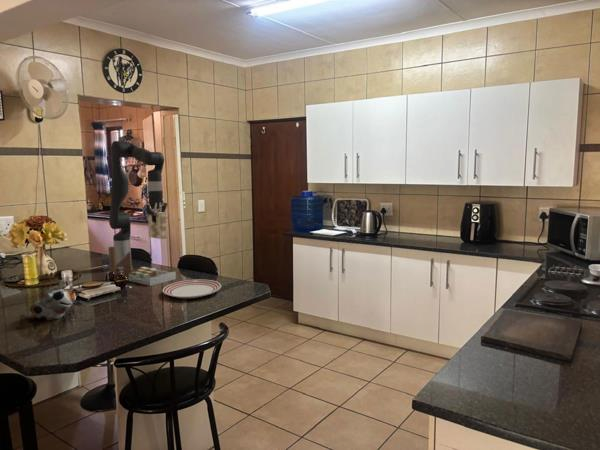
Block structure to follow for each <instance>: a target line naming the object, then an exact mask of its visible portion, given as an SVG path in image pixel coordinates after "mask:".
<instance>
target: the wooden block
mask: <svg viewBox="0 0 600 450" xmlns="http://www.w3.org/2000/svg"><path fill="white" fill-rule="evenodd" d="M108 259H109V260H108V261H109V273H110V272H114V273H122V274H124V275H125V276H126V277H127V280H129V276H128V273H132V267H131V265H132V255H131V256H130V252H128V253H127V254H126V255H125V256H124V258H123V259H122V260H121V261H120V262H119V263H118V264H117V260H116V247H114V246H109V247H108ZM122 266H123V269H122V271H118V269H117V267H122Z"/></svg>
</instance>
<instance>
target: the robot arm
mask: <svg viewBox="0 0 600 450" xmlns="http://www.w3.org/2000/svg"><path fill="white" fill-rule="evenodd" d="M110 156H111V181H110V182H111V186H110V190H111V192H110V194H111V197H110V198H111V199H110V208H109V217H108V223H109V227H110V228H111V229H112V230H119V229H120V230H119V231H118V233H116V234H114V235H113V237H112V238H113V239H112V240H113V247H116V260H117V264H118V263H119V262H120V261H121V260H122V259H123V258H124V256H125V255H126V254H127V253H128V252H130V256H131V257H132V253H131V252H132V250H131V249H132V248H131V231H132V229H131V227H132V226H131V216H130V214H129V213H128V212H120V208H121V205H122V203H123V202H124V200H125V199H126V197H127V195H128V194H129V186H130V185H129V178H128V176H127V174H126V173H125V171H124V169H123V168H122V165H121V158H122V159H123V158H126V159H127V158H133V159H135V160H136V161H138V162H141V163H143V164H144V165H145V166H154V168H152V169H150V170H148V171H147V199H148V202H147V203H146V204H144V205H143V206H144V208H145V211H146V212H147V215H148V214H149V215H151V216H152V221H153V222H154V223H155V222H156V216H155V215H156V212H165V213H166V209H167V207H168V203H167V202H164V200H163V198H164V193H163V192H164V191H163V190H164V189H163V187H164V186H163V180H162V172H163V168H164V164H165V157H164V154H163V153H162V152H159V151H150V150H148V149H145V148H142V147H138V146H137V145H135V144H133V143H131V142H129V141H125V140H124V141H122V140H114V141H113V142H111V146H110ZM131 268H132V264H131ZM117 270H123V266H122V267H117Z"/></svg>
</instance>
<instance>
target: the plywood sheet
mask: <svg viewBox="0 0 600 450" xmlns="http://www.w3.org/2000/svg"><path fill="white" fill-rule="evenodd" d="M155 216H156V222H155V223H154V222H153V221H152V216H151V215H149V214H148V213H147V230H148V238H152V239H159V240H160V239H161V240H165V239H166V240H167V216H166V211H165V212H157V211H156V215H155Z"/></svg>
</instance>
